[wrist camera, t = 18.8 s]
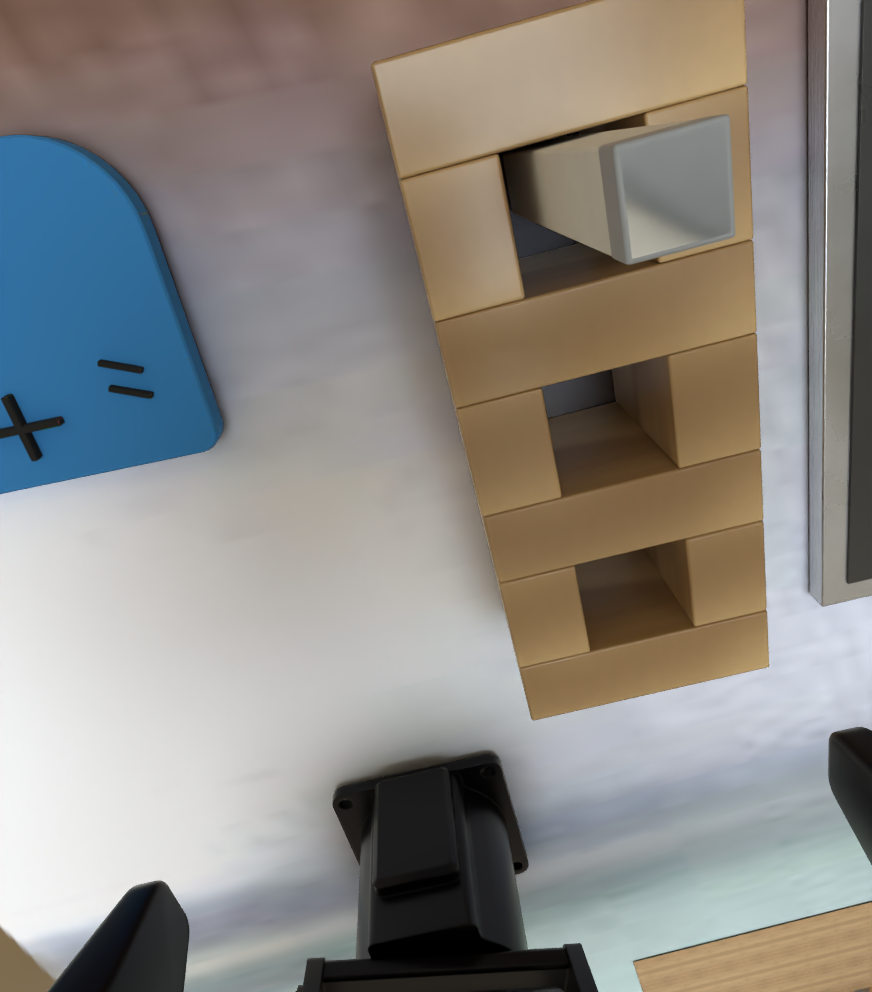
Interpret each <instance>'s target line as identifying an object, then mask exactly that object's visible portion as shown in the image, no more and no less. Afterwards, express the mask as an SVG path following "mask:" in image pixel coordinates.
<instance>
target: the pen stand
mask: <svg viewBox="0 0 872 992" xmlns="http://www.w3.org/2000/svg"><path fill="white" fill-rule="evenodd" d="M371 69H372V73H373V78H374V83H375V88H376V92H377V96H378V100H379V105H380V109H381V113H382V117H383V121H384V125H385V129H386V133H387V137H388V141H389V145H390V149H391V153H392V157H393V161H394V165H395V169H396V173H397V175H398V182H399V186H400V190H401V194H402V198H403V202H404V206H405V210H406V214H407V218H408V222H409V226H410V230H411V234H412V238H413V242H414V247H415V251H416V255H417V259H418V263H419V267H420V271H421V275H422V279H423V283H424V287H425V291H426V295H427V299H428V303H429V307H430V311H431V316H432V320H433V324H434V328H435V332H436V336H437V340H438V344H439V348H440V352H441V356H442V360H443V364H444V368H445V372H446V376H447V380H448V385H449V389H450V393H451V397H452V401H453V405H454V409H455V413H456V417H457V421H458V425H459V429H460V433H461V437H462V441H463V445H464V449H465V453H466V458H467V462H468V466H469V470H470V474H471V478H472V482H473V486H474V490H475V494H476V498H477V502H478V506H479V510H480V514H481V518H482V522H483V527H484V531H485V535H486V539H487V543H488V547H489V551H490V555H491V559H492V563H493V567H494V571H495V575H496V579H497V583H498V587H499V591H500V596H501V600H502V604H503V608H504V612H505V616H506V620H507V624H508V628H509V632H510V636H511V640H512V644H513V648H514V652H515V656H516V659H517V663H518V667H519V671H520V675H521V679H522V683H523V687H524V691H525V695H526V699H527V703H528V707H529V711H530V715H531V719H532V720H538V719H543V718H547V717H551V716H556V715H560V714H565V713H569V712H573V711H578V710H582V709H587V708H591V707H595V706H600V705H604V704H608V703H613V702H617V701H622V700H626V699H630V698H635V697H639V696H644V695H648V694H652V693H657V692H661V691H665V690H670V689H674V688H679V687H683V686H687V685H692V684H696V683H701V682H705V681H709V680H714V679H718V678H723V677H727V676H731V675H736V674H740V673H744V672H749V671H753V670H758V669H762V668H766V667H769V652H768V625H767V611H766V581H765V554H764V528H763V521H762V519H763V499H762V472H761V451H760V449H759V448H760V447H761V438H760V412H759V385H758V358H757V335H756V334H755V332H756V306H755V279H754V252H753V241H752V240H750V239H752V238H753V219H752V193H751V166H750V139H749V112H748V88H747V86H744V85H745V84H746V83H747V65H746V38H745V11H744V0H591V1H587V2H584V3H580V4H577V5H573V6H570V7H566V8H563V9H559V10H556V11H552V12H549V13H545V14H542V15H538V16H535V17H531V18H528V19H524V20H521V21H517V22H514V23H510V24H506V25H503V26H499V27H496V28H492V29H489V30H485V31H482V32H478V33H475V34H471V35H468V36H464V37H461V38H457V39H454V40H450V41H447V42H443V43H440V44H436V45H433V46H429V47H425V48H422V49H418V50H415V51H411V52H408V53H404V54H401V55H397V56H394V57H390V58H387V59H383V60H380V61H376V62H374V63H373V64H372V66H371ZM723 114H727V115H729V117H730V130H731V151H732V172H733V192H734V213H735V236H734V237H732V238H730V239H727V240H723V241H719V242H715V243H712V244H708V245H704V246H700V247H696V248H693V249H689V250H685V251H681V252H677V253H674V254H670V255H666V256H662V257H658V258H655V259H651V260H647V261H643V262H639V263H636V264H632V265H626V264H624V263H622V262H620V261H617V260H615V259H613V257H612V256H610V255H607V254H605V253H603V252H601V251H598V250H596V249H594V248H591V247H589V246H587V245H584V244H582V243H577V244H573V245H569V246H566V247H562V248H558V249H554V250H551V251H547V252H543V253H539V254H536V255H532V256H528V257H524V258H520V259H518V255H517V250H516V244H515V239H514V233H513V228H512V222H511V217H510V211H509V206H508V201H507V195H506V190H505V184H504V179H503V173H502V168H501V163H500V157H499V156H498V154H496V153H500V152H503V151H507V150H511V149H514V148H518V147H522V146H525V145H529V144H533V143H536V142H540V141H544V140H547V139H551V138H555V137H558V136H562V135H566V134H569V133H573V132H576V131H579V135H583V134H590V133H598V132H605V131H612V130H620V129H627V128H635V127H642V126H650V125H657V124H665V123H672V122H680V121H687V120H694V119H699V118H703V117H708V116H715V115H723ZM610 369H611V372H612V379H613V386H614V394H615V400H616V401H617V402H613V403H609V404H605V405H601V406H597V407H593V408H589V409H585V410H581V411H577V412H573V413H569V414H565V415H561V416H557V417H553V418H549V419H548V418H547V412H546V407H545V402H544V396H543V391H542V389H541V387H544V386H547V385H551V384H555V383H559V382H563V381H567V380H571V379H575V378H579V377H583V376H587V375H591V374H595V373H599V372H602V371H606V370H610Z"/></svg>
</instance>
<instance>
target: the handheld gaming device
mask: <svg viewBox="0 0 872 992" xmlns="http://www.w3.org/2000/svg"><path fill="white" fill-rule="evenodd" d="M222 432H223V421H222V417H221V415H220V412H219V409H218V406H217V403H216V401H215V398H214V395H213V392H212V389H211V386H210V384H209V381H208V378H207V375H206V372H205V369H204V367H203V364H202V361H201V358H200V355H199V352H198V350H197V347H196V344H195V341H194V338H193V336H192V333H191V330H190V327H189V324H188V321H187V319H186V316H185V313H184V310H183V307H182V304H181V302H180V299H179V296H178V293H177V290H176V288H175V285H174V282H173V279H172V276H171V273H170V271H169V268H168V265H167V262H166V259H165V256H164V254H163V251H162V248H161V245H160V242H159V240H158V237H157V234H156V231H155V228H154V226H153V223H152V221H151V219H150V216H149V214H148V212H147V210H146V208H145V206H144V205H143V203H142V201H141V200H140V198H139V196H138V195H137V193H136V192H135V191H134V190H133V188H132V187H131V186H130V185H129V183H128V182H127V181H126V180H125V179H124V178H123V177H122V176H121V175H120V174H119V173H118V172H117V171H116V170H115V169H114V168H113V167H112V166H110V165H109V164H108V163H106V162H105V161H104V160H102V159H101V158H100V157H98V156H96V155H95V154H93V153H91V152H89V151H88V150H86V149H84V148H82V147H80V146H77V145H75V144H72V143H69V142H67V141H64V140H60V139H55V138H50V137H44V136H31V135H9V136H1V137H0V494H3V493H7V492H12V491H17V490H22V489H27V488H32V487H36V486H41V485H46V484H51V483H56V482H61V481H65V480H70V479H75V478H80V477H85V476H90V475H94V474H99V473H104V472H109V471H114V470H119V469H123V468H128V467H133V466H138V465H143V464H148V463H152V462H157V461H162V460H167V459H172V458H177V457H181V456H186V455H191V454H196V453H201V452H205V451H207V450H209V449H211V448H212V447H213V446H214V445H215V444H216V442H217V441H218V439H219V437H220V436H221V434H222Z"/></svg>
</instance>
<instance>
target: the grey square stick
mask: <svg viewBox="0 0 872 992" xmlns="http://www.w3.org/2000/svg"><path fill="white" fill-rule="evenodd" d="M499 157H500V163H501V168H502V173H503V179H504V184H505V190H506V195H507V201H508V206H509V210H510V211H513V213H514V214H516V215H518V216H520V217H522V218H525V219H527V220H529V221H532V222H534V223H536V224H539V225H541V226H543V227H545V228H548V229H550V230H552V231H555V232H557V233H559V234H561V235H564V236H566V237H568V238H571V239H573V240H575V241H578V242H580V243H582V244H584V245H587V246H589V247H591V248H594V249H596V250H598V251H601V252H603V253H605V254H607V255H610V256H612V257H613V259H615V260H617V261H620V262H622V263H624V264H626V265H632V264H636V263H639V262H643V261H647V260H651V259H655V258H658V257H662V256H666V255H670V254H674V253H677V252H681V251H685V250H689V249H693V248H696V247H700V246H704V245H708V244H712V243H715V242H719V241H723V240H727V239H730V238H732V237H734V236H735V213H734V192H733V172H732V151H731V130H730V117H729V115H727V114H723V115H715V116H708V117H703V118H699V119H694V120H687V121H680V122H672V123H665V124H657V125H650V126H642V127H635V128H627V129H620V130H612V131H605V132H598V133H590V134H583V135H575V136H568V137H560V138H555V139H551V140H547V141H544V142H540V143H537V144H533V145H529V146H526V147H522V148H518V149H515V150H511V151H508V152H504V153H501V154H500V155H499Z"/></svg>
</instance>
